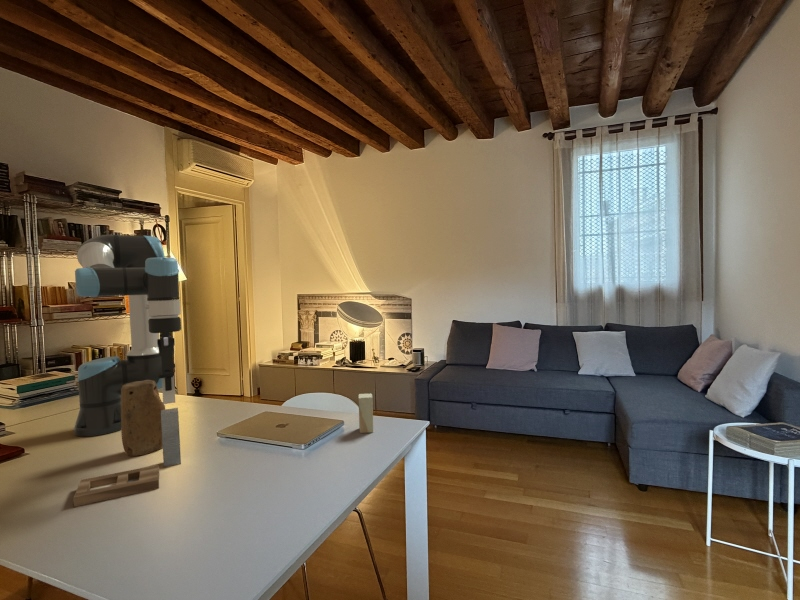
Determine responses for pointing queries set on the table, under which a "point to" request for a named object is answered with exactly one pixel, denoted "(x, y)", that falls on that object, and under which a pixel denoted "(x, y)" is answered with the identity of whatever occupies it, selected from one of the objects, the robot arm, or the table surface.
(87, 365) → the robot arm
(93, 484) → the socket block
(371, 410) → the box
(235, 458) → the table surface
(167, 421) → the steel bit
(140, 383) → the block
